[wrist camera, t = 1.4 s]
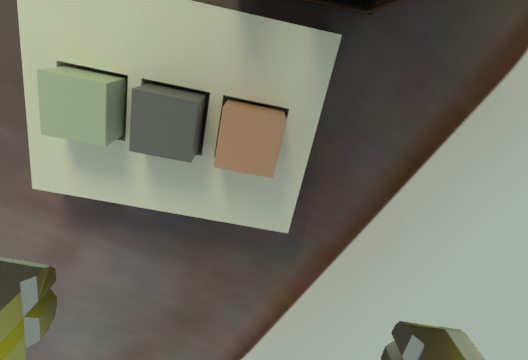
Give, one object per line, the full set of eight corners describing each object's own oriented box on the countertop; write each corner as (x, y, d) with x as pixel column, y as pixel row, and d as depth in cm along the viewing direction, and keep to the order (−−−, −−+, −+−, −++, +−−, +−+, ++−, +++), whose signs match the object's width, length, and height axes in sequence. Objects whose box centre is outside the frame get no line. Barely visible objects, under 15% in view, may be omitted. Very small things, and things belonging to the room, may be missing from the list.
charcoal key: (148, 82, 22) (131, 88, 19) (206, 94, 22) (198, 102, 20) (144, 138, 24) (129, 151, 21) (199, 149, 24) (190, 162, 21)
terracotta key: (227, 99, 23) (222, 107, 20) (283, 110, 23) (286, 120, 20) (219, 152, 24) (213, 167, 21) (271, 162, 24) (272, 178, 22)
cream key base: (49, -29, 22) (13, -41, 19) (331, 35, 24) (342, 34, 20) (59, 171, 28) (32, 188, 25) (285, 212, 29) (287, 233, 26)
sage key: (65, 65, 22) (36, 69, 19) (126, 78, 22) (106, 83, 19) (67, 123, 23) (40, 134, 20) (124, 134, 24) (105, 146, 21)
